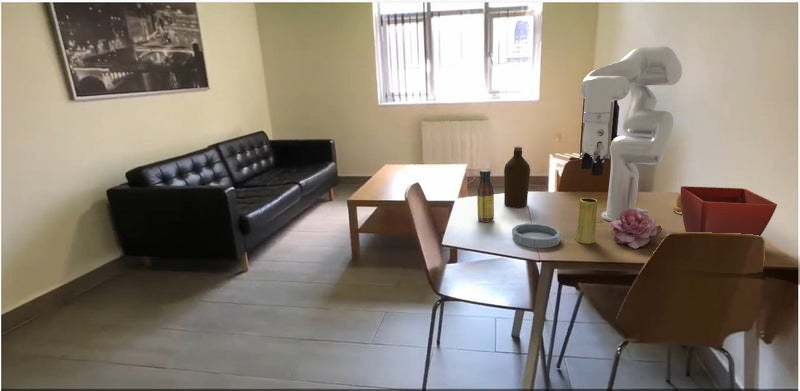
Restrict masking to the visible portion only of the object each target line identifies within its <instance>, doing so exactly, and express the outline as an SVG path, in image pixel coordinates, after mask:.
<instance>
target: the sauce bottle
mask: <svg viewBox="0 0 800 391" xmlns="http://www.w3.org/2000/svg"><path fill="white" fill-rule="evenodd" d="M491 174H492V173H491V170H490V169H487V168H486V169H479V175H480V177H479V178H480V179H479V184H478V185H477V189H476V190H477V194H476V196H477V197H476V198H477V203H476V204H477V219H478V221H479V222H482V223H490V222H493V221H494V220H495V202H494V201H495V195H494V194H495V192H494V187H493V184H492V183H491V182H492V181H491Z"/></svg>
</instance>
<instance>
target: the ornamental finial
mask: <svg viewBox="0 0 800 391" xmlns="http://www.w3.org/2000/svg"><path fill="white" fill-rule="evenodd" d="M673 210H675V211H677V212H682V208H681V193H680V194H679V195H677V197H676V202H675V204H674V206H673V207H672V211H673Z"/></svg>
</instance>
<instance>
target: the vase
mask: <svg viewBox="0 0 800 391" xmlns="http://www.w3.org/2000/svg"><path fill="white" fill-rule="evenodd" d="M597 212H598V199H596V198H592V197H582V198H580V200H579V208H578V218H577V225H576V233H575V234H576V235H575V241H576V242H577V243H581V244H584V245H585V244H587V245H590V244H594V243H595V242H596V227H597V226H596V225H597V224H596V223H597Z"/></svg>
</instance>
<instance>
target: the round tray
mask: <svg viewBox="0 0 800 391" xmlns="http://www.w3.org/2000/svg"><path fill="white" fill-rule="evenodd" d="M511 236H512V240H513V241H514V243H516V244H518V245H521V246H522V247H527V248H533V249H534V248H535V249H548V248H553V247H557V246H558V245H559V244H560V243H561V242H560V241H561V238H562V232H561V231H560V230H559V228H557V227H554V226H551V225H548V224H542V223H537V222H535V223H521V224H517V225H515V226H514V227H512V229H511Z"/></svg>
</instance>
